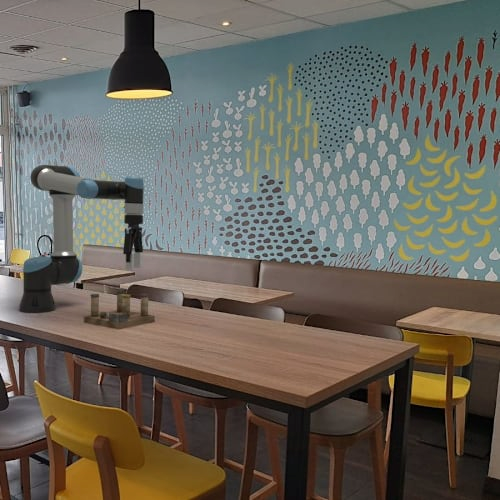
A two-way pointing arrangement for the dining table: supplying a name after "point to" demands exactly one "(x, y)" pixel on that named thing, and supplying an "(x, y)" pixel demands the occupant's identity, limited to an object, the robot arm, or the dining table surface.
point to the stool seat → (119, 319)
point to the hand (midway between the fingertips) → (133, 268)
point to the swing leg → (124, 307)
